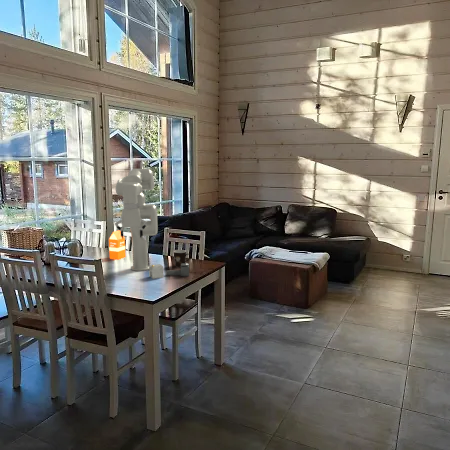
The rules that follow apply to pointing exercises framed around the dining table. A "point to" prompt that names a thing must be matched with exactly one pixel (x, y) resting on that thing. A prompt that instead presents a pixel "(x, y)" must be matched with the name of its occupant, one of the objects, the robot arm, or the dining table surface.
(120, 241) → the orange juice
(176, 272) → the coupler
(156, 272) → the lock
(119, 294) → the dining table surface
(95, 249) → the dining table surface
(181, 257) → the coffee mug
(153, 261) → the dining table surface
